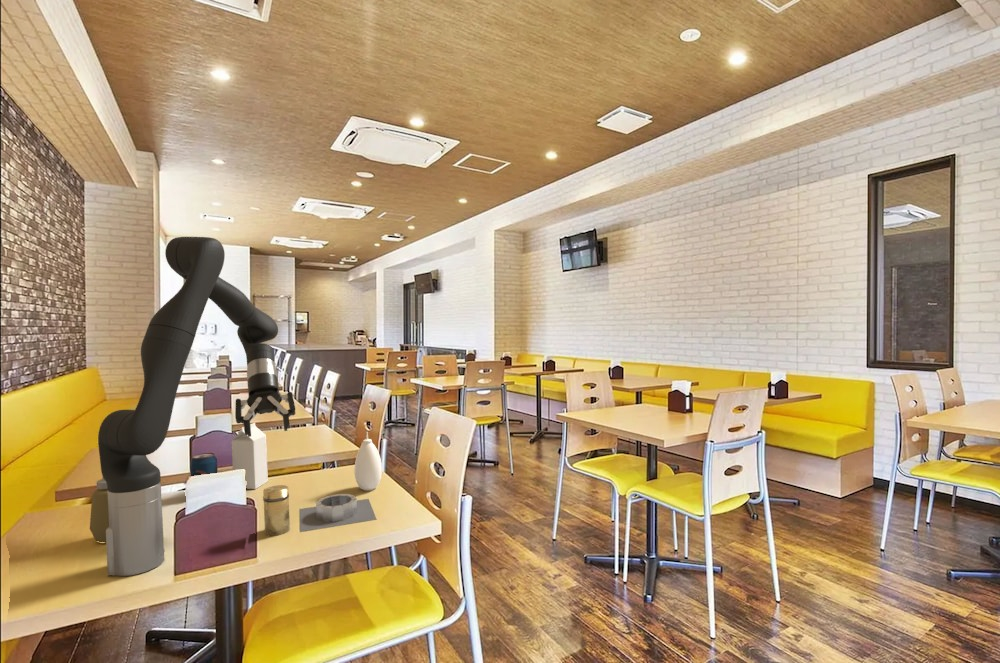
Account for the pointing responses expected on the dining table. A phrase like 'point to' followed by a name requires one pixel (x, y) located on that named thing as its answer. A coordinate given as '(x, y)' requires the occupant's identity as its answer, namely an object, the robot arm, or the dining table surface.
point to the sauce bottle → (368, 466)
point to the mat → (312, 523)
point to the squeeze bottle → (99, 511)
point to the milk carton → (251, 456)
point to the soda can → (203, 464)
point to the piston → (276, 510)
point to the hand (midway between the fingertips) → (268, 432)
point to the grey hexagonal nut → (336, 507)
